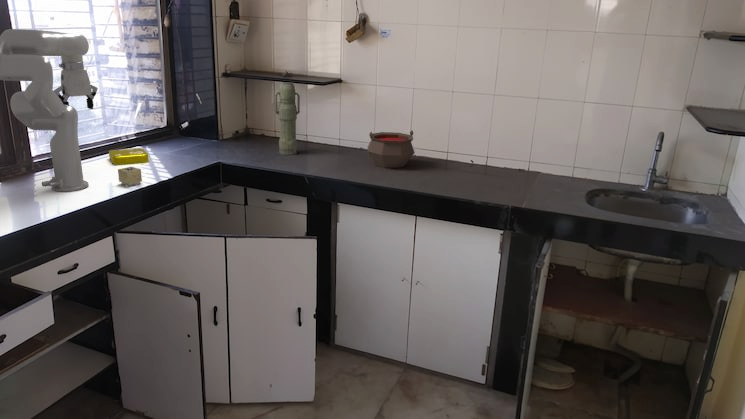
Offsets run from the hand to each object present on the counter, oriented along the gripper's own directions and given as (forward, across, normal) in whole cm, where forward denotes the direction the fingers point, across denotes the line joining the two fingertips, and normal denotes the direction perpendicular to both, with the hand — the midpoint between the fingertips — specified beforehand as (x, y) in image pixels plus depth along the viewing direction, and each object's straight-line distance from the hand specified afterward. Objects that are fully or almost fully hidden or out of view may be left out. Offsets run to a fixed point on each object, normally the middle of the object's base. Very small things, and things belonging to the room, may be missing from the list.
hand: (78, 109), depth 227 cm
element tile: (+27, +24, +7) cm, 37 cm away
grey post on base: (+26, +2, -27) cm, 38 cm away
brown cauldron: (+27, +102, -86) cm, 136 cm away
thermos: (+27, +85, -35) cm, 96 cm away
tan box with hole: (+25, +2, -27) cm, 37 cm away
